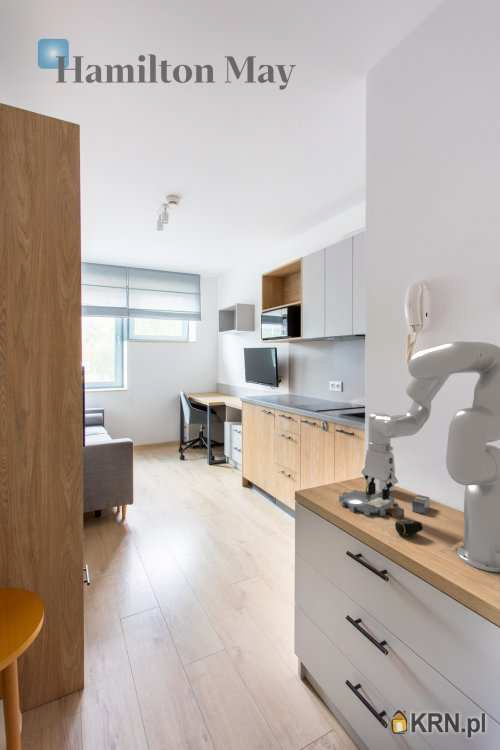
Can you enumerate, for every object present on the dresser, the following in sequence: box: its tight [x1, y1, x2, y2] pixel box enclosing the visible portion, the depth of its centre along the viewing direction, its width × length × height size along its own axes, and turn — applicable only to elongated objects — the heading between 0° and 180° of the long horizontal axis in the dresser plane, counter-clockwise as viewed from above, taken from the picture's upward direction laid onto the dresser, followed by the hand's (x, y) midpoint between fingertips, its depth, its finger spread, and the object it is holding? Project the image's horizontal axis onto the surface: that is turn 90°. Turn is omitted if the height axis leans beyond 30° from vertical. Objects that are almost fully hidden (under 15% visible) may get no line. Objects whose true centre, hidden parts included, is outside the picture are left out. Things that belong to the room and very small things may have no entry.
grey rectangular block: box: [411, 494, 430, 515], centre depth 131 cm, size 4×8×4 cm, turn 142°
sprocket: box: [338, 479, 399, 517], centre depth 134 cm, size 21×21×8 cm
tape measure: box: [394, 518, 424, 536], centre depth 111 cm, size 7×7×4 cm
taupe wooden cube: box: [391, 506, 405, 520], centre depth 124 cm, size 3×2×3 cm
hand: (378, 496), depth 131 cm, fingers open, 5 cm apart
